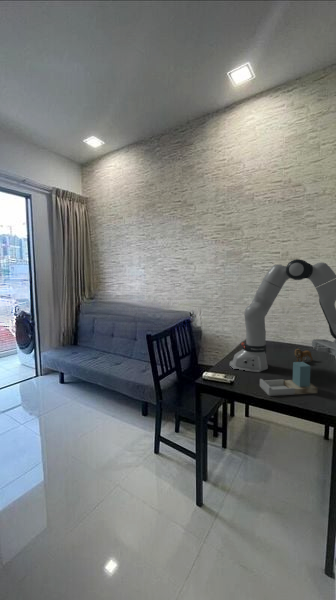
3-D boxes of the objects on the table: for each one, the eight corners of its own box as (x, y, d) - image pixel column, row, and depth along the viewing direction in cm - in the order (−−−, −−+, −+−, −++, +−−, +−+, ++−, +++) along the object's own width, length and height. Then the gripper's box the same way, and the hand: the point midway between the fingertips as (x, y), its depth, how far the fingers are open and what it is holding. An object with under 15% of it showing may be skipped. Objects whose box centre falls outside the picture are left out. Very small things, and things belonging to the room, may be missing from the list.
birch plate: (304, 383, 128) (304, 379, 128) (317, 393, 118) (317, 387, 118) (283, 385, 127) (283, 380, 127) (294, 394, 118) (295, 389, 117)
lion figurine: (299, 364, 155) (299, 350, 154) (291, 362, 160) (292, 348, 159) (315, 360, 161) (315, 347, 160) (307, 358, 166) (307, 345, 165)
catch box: (283, 385, 127) (283, 377, 127) (294, 394, 118) (294, 386, 117) (259, 386, 127) (259, 378, 126) (269, 395, 117) (269, 387, 116)
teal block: (302, 381, 126) (302, 361, 125) (309, 386, 120) (310, 366, 119) (292, 381, 125) (293, 362, 124) (299, 386, 120) (300, 366, 119)
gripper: (327, 335, 132) (302, 337, 131) (359, 346, 112) (330, 348, 111) (327, 347, 133) (302, 348, 132) (359, 360, 113) (330, 362, 112)
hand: (315, 348), depth 121 cm, fingers closed
